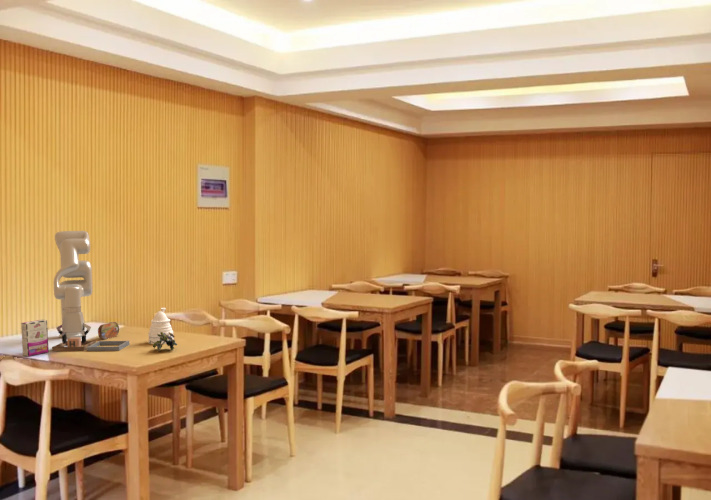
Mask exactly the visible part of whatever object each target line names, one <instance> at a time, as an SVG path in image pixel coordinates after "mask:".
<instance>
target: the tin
mask: <svg viewBox="0 0 711 500" xmlns="http://www.w3.org/2000/svg"><path fill="white" fill-rule="evenodd" d="M119 332H120V326H119V324H118V323H117V321H116V322H115V321H113V322H112V321H110V322H107V323H104V324H103V323H102V324H100V325H99V326H98V329H97V334H98V337H99V339H100V340H109V339H112V337H113V338H116V337H117V336H118V335H119ZM108 338H109V339H108Z"/></svg>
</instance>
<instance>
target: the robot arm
mask: <svg viewBox="0 0 711 500" xmlns="http://www.w3.org/2000/svg"><path fill="white" fill-rule="evenodd" d="M54 242H55V245H56V247H57V249H58V250H59V255H60V268H59V269H58V271H57V272H56V273H55V275H54V279H53V295H54V298H55V299H57V300H60V308H61V309H60V310H61V311H60V312H61V325H58V326H56V330H57V333H58V334H59V335H58V336H59V338H60V339H61V341H62V342H63V344H65V343H67V339H69V338H75V337H81V341H82V344H83V343H85V342H86V341H87V335H88V334H89V333H90V331H91V328H92V326H90V325H89V324H87V323H85V319H84V313H83V312H82V304H81V303H82V302H81V301H82V300H81V298H82V297H90V296H91V295H92V294H93V291H94V290H93V287H94V286H93V268H92V263H91V262H90V261H89V260H80V257H79V255H88V254H89V253H90V251H91V241H90V234H89V233H88V231H86V230H62V231H57V232H56V233H54ZM62 278H64V279H65V278H66V279H67V278H68V279H69V280H68V279H67V280H63V281H61V279H62ZM75 278H82V279H75ZM70 279H71V280H70ZM60 281H61V282H60ZM85 329H86V330H85ZM62 342H61V343H62Z"/></svg>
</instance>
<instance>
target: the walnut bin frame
mask: <svg viewBox="0 0 711 500" xmlns="http://www.w3.org/2000/svg"><path fill="white" fill-rule="evenodd" d="M96 342H97V341H96V340H86V342H85V343H83V344H82V340H81V346H79V347H68V346H67V343H65V344H63V342H60V343H58V344H55V345H54V346H52V347H51V352H81V351H82V352H84V351H87V347H88V346H90V345H92V344H94V343H96Z"/></svg>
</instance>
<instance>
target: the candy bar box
mask: <svg viewBox="0 0 711 500" xmlns="http://www.w3.org/2000/svg"><path fill="white" fill-rule="evenodd" d="M20 327H21V328H20V329H21V343H22V345H21V346H22V356H23V357H34V356H39V355H43V354H47V353H48V354H49V352H50V351H49V333H48V332H49V331H48V330H49V329H48V328H49V327H48V320H47V319H37V320H32V321H31V320H30V321H26V322H24V321H23V322H21V323H20Z"/></svg>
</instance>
